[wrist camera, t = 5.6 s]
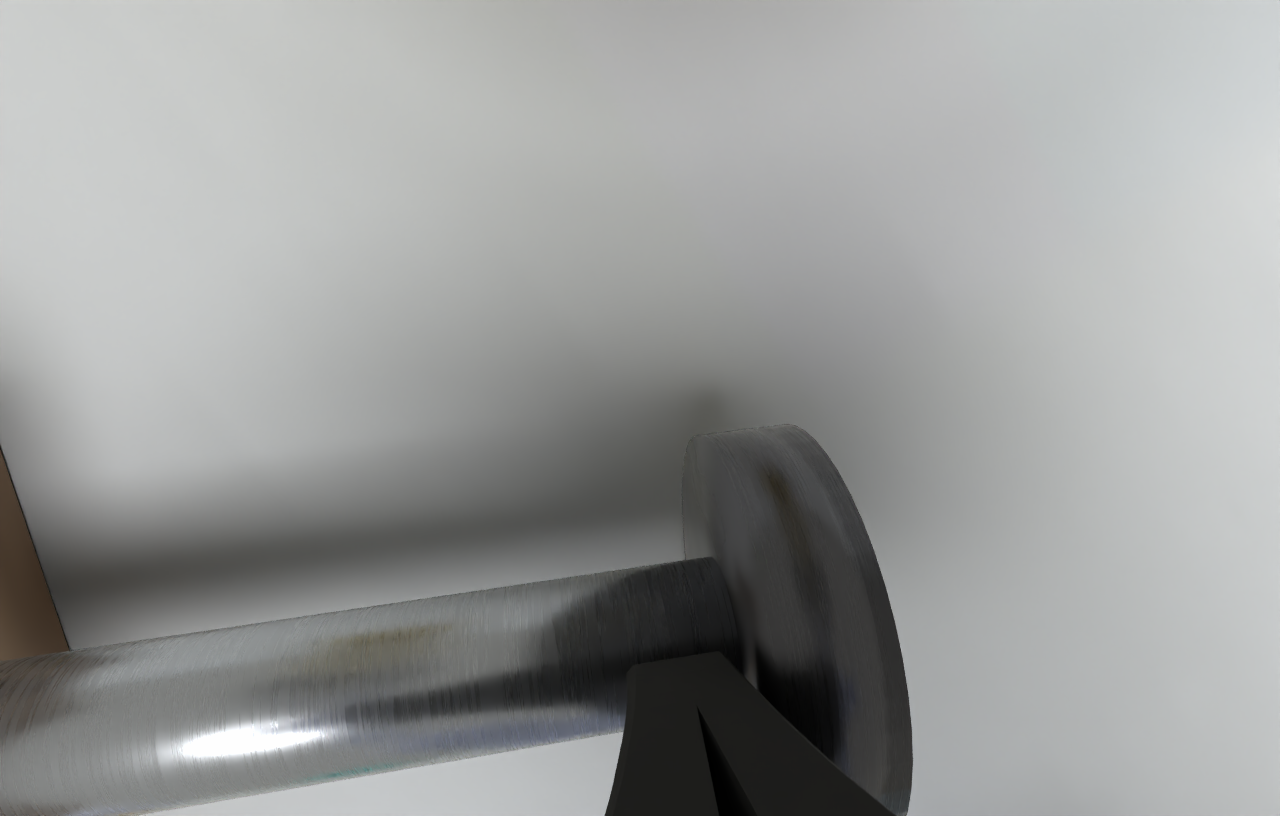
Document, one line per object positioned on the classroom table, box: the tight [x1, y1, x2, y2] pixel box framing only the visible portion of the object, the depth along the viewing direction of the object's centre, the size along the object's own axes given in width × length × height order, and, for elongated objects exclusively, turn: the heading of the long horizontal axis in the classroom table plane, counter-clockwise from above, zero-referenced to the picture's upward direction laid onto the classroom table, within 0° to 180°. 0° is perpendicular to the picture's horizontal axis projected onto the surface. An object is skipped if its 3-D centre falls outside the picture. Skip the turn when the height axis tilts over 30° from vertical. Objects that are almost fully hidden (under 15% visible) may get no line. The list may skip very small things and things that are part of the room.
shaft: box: [0, 424, 913, 816], centre depth 10 cm, size 18×6×6 cm, turn 95°
